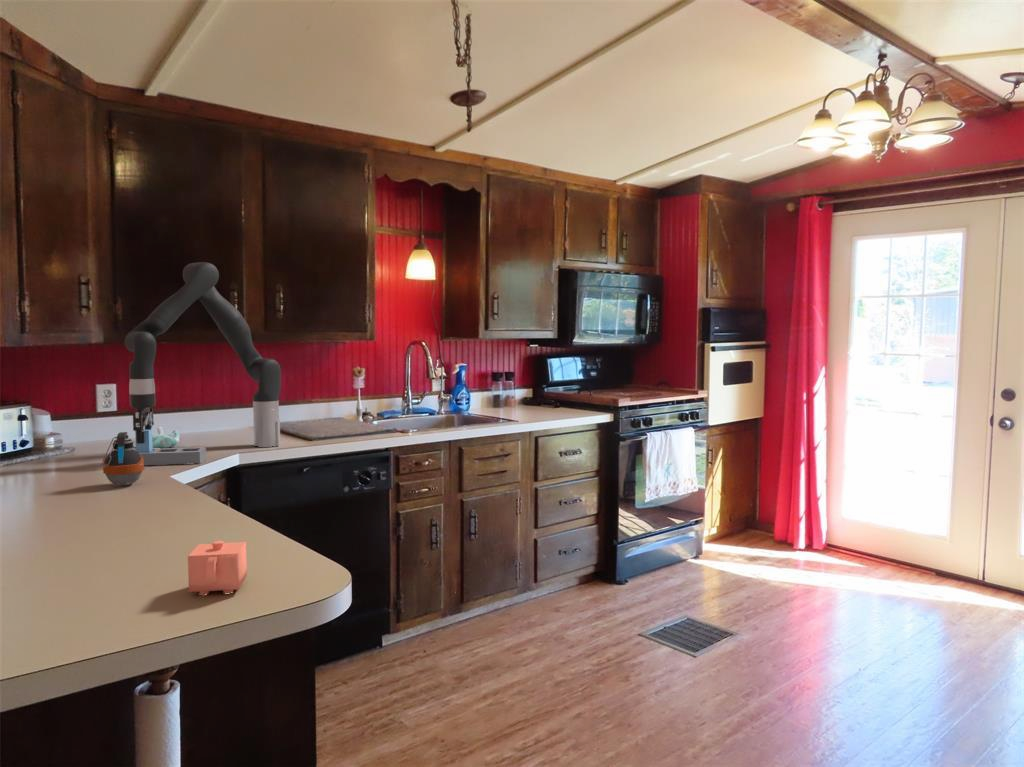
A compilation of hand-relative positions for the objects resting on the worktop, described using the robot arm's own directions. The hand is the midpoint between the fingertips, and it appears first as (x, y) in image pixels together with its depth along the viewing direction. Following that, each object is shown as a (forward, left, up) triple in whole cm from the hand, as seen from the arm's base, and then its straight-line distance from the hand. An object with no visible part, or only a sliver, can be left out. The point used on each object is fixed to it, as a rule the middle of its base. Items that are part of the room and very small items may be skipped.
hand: (144, 441), depth 234 cm
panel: (-7, 0, -7) cm, 10 cm away
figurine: (+5, -38, -8) cm, 39 cm away
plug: (0, 0, -7) cm, 7 cm away
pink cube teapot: (-45, +127, -8) cm, 135 cm away
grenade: (-4, +36, -8) cm, 37 cm away
